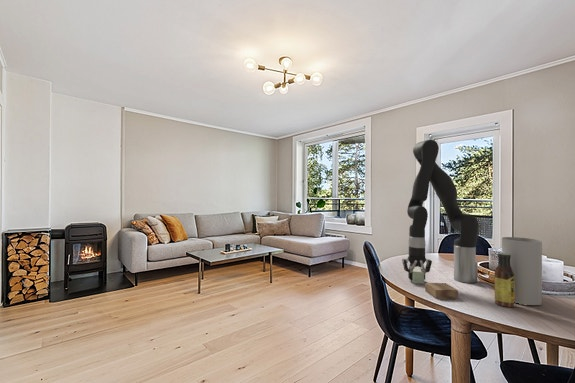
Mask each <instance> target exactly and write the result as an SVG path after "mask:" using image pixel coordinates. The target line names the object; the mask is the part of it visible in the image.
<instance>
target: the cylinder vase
mask: <svg viewBox="0 0 575 383" xmlns="http://www.w3.org/2000/svg"><path fill="white" fill-rule="evenodd" d="M501 253H505V254H510V255H511V258H510V266H511V268H512V271H513V273H514V277H515V303H514V304H516V303H519V304H518V305H521V304H526V305H525V306H527V305H539V306H541V305H542V304H541V303H543V294H542V293H543V241H542V240H540V239H536V238H530V237H529V238H527V237H517V236H516V237H515V236H505V237H504V236H503V237H502V238H501ZM540 304H541V305H540Z"/></svg>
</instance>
